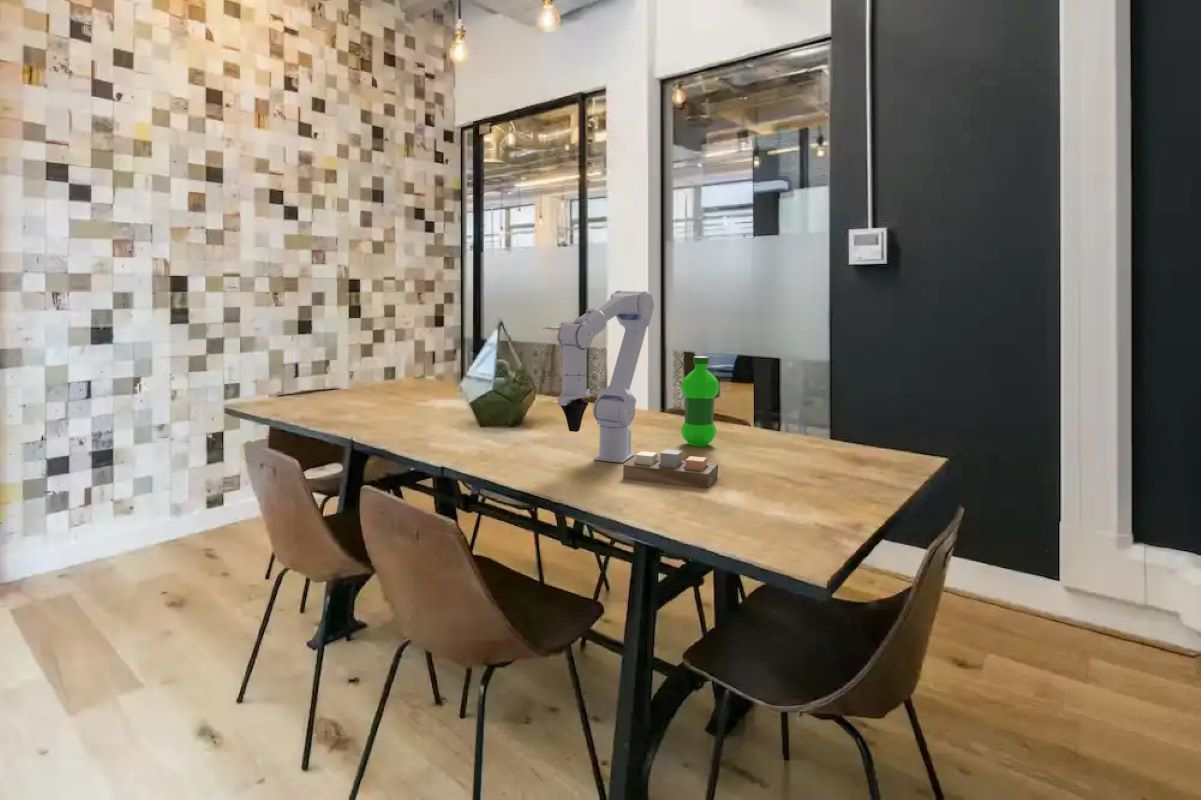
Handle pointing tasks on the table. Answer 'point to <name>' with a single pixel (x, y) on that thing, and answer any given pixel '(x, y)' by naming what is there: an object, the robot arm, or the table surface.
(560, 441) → the table surface
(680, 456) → the key slate
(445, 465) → the table surface
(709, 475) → the frame
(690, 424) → the plastic bottle
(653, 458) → the key ivory
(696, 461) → the key terracotta
